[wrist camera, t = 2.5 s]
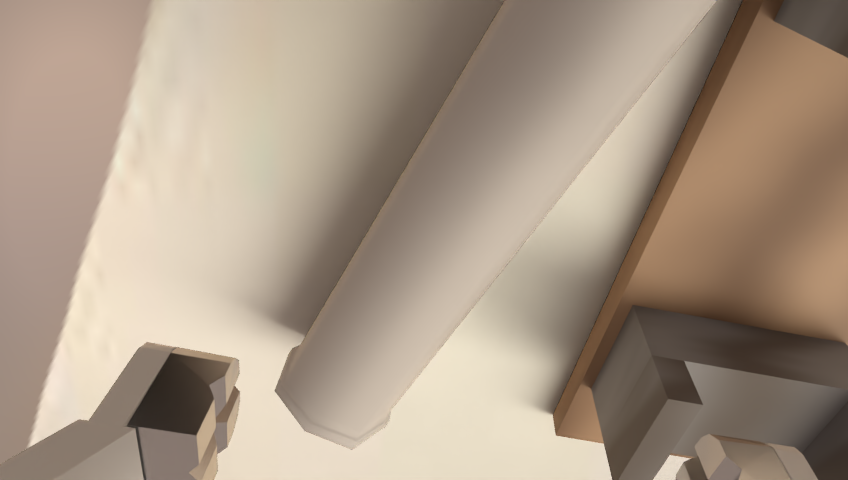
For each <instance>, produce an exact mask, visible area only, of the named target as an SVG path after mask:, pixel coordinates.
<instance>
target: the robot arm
mask: <svg viewBox="0 0 848 480" xmlns="http://www.w3.org/2000/svg"><path fill="white" fill-rule="evenodd" d="M239 374H240V373H239V360H238V359H236V358H232V357H227V356H222V355H216V354H211V353H206V352H200V351H195V350H190V349H184V348H179V347H171V346H166V345H160V344H155V343H149V342H147V343H145V344H144V345H143V346H141V347H140V348H139V349H138V350H137V351H136V353H135V354H134V356H133V357H132V358H131V360H130V361H129V363H128V364H127V366H126V367H125V369H124V370H123V371H122V373H121V374H120V376H119V377H118V379H117V380H116V382H115V383H114V385H113V386H112V387H111V389H110V390H109V392H108V393H107V395H106V396H105V398H104V399H103V401H102V402H101V403H100V405H99V406H98V408H97V409H96V411H95V412H94V414H93V415H92V417H91V418H90V419H89V421H88V420H80V419H79V420H77V421H75V422H74V423H72V424H70V425H68V426H66V427H65V428H63V429H61V430H59V431H58V432H56V433H54V434H52V435H51V436H49V437H47V438H45V439H44V440H42V441H40V442H38V443H36V444H35V445H33V446H31V447H29V448H28V449H26V450H24V451H22V452H21V453H19V454H17V455H15V456H14V457H12V458H10V459H8V460H7V461H5V462H3V463H1V464H0V480H214V479H215V476H216V474H217V471H218V463H217V454H218V453H220V452H221V451H222V450H224V449H225V448H227V447H228V444H229V442H230V439H231V437H232V434H233V431H234V428H235V424H236V420H237V416H238V411H239V403H240V392H239V390H238V389H237V388H236V387H235V386H234V385H235V383H236V381H237V378H238V376H239ZM695 450H696V453H697V456H696V457H694V458H692V459H690V460H687V461H685V462H684V463H683V464H682V466H681V467H680V469H679V471H678V472H677V474H676V480H818V479H817V477H816V475H815V474H814V472H813V470H812V469H811V467H810V465H809V464H808V462H807V460H806V459H805V457H804V455H803V454H802V453H801V452H800V451H798V450H797V449H796V448H795V447H790V446H784V445H777V444H771V443H762V442H760V441H753V440H747V439H740V438H733V437H727V436H720V435H713V434H707V435H705V436H703V437H701V438H700V440H699V441H698V442H697V444H696V445H695Z"/></svg>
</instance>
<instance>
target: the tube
mask: <svg viewBox="0 0 848 480" xmlns="http://www.w3.org/2000/svg"><path fill="white" fill-rule="evenodd" d="M716 1H717V0H505V1H504V2H503V4H502V6H501V7H500V9H499V11H498V12H497V14H496V16H495V18H494V19H493V21H492V23H491V24H490V26H489V28H488V29H487V31H486V33H485V34H484V36H483V38H482V39H481V41H480V43H479V45H478V46H477V48H476V50H475V51H474V53H473V55H472V56H471V58H470V60H469V61H468V63H467V65H466V66H465V68H464V70H463V71H462V73H461V75H460V77H459V78H458V80H457V82H456V83H455V85H454V87H453V88H452V90H451V92H450V93H449V95H448V97H447V98H446V100H445V102H444V104H443V105H442V107H441V109H440V110H439V112H438V114H437V115H436V117H435V119H434V120H433V122H432V124H431V125H430V127H429V129H428V131H427V132H426V134H425V136H424V137H423V139H422V141H421V142H420V144H419V146H418V147H417V149H416V151H415V152H414V154H413V156H412V158H411V159H410V161H409V163H408V164H407V166H406V168H405V169H404V171H403V173H402V174H401V176H400V178H399V179H398V181H397V183H396V185H395V186H394V188H393V190H392V191H391V193H390V195H389V196H388V198H387V200H386V201H385V203H384V205H383V206H382V208H381V210H380V212H379V213H378V215H377V217H376V218H375V220H374V222H373V223H372V225H371V227H370V228H369V230H368V232H367V233H366V235H365V237H364V239H363V240H362V242H361V244H360V245H359V247H358V249H357V250H356V252H355V254H354V255H353V257H352V259H351V260H350V262H349V264H348V266H347V267H346V269H345V271H344V272H343V274H342V276H341V277H340V279H339V281H338V282H337V284H336V286H335V287H334V289H333V291H332V293H331V294H330V296H329V298H328V299H327V301H326V303H325V304H324V306H323V308H322V309H321V311H320V313H319V314H318V316H317V318H316V320H315V321H314V323H313V325H312V326H311V328H310V330H309V331H308V333H307V335H306V336H305V338H304V340H303V341H302V343H301V345H299V346H297V347H294V348H292V350H291V351H290V353H289V355H288V357H287V360H286V362H285V365H284V368H283V370H282V373H281V376H280V378H279V381H278V384H277V386H276V389H275V392H276V393H277V394H278V396H279V397H280V398H281V400H282V401H283V403H284V404H285V405H286V407H287V408H288V409H289V411H290V412H291V413H292V415H293V416H294V417H295V419H296V420H297V421H298V423H299V424H300V425H301V427H302V428H303V429H304V431H306V432H309V433H311V434H314V435H316V436H319V437H321V438H324V439H326V440H329V441H331V442H334V443H336V444H339V445H341V446H344V447H346V448H349V449H351V450H352V449H354V448H355V447H357V446H358V445H360V444H361V443H362V442H364V441H365V440H367V439H368V438H370V437H371V436H373V435H374V434H376V433H377V432H379V431H380V430H381V429H383V428H384V427H385V426H386V425H387V424H388V422H389V419H390V412H391V410H392V409H393V407H394V406H395V405H396V404H397V402H398V401H399V400H400V398H401V397H402V396H403V395H404V393H405V392H406V391H407V390H408V388H409V387H410V386H411V385H412V383H413V382H414V381H415V380H416V378H417V377H418V376H419V375H420V373H421V372H422V371H423V370H424V368H425V367H426V366H427V365H428V363H429V362H430V361H431V360H432V358H433V357H434V356H435V354H436V353H437V352H438V351H439V349H440V348H441V347H442V346H443V344H444V343H445V342H446V341H447V339H448V338H449V337H450V336H451V334H452V333H453V332H454V331H455V329H456V328H457V327H458V326H459V324H460V323H461V322H462V321H463V319H464V318H465V317H466V316H467V314H468V313H469V312H470V310H471V309H472V308H473V307H474V305H475V304H476V303H477V302H478V300H479V299H480V298H481V297H482V295H483V294H484V293H485V292H486V290H487V289H488V288H489V287H490V285H491V284H492V283H493V282H494V280H495V279H496V278H497V277H498V275H499V274H500V273H501V272H502V270H503V269H504V268H505V266H506V265H507V264H508V263H509V261H510V260H511V259H512V258H513V256H514V255H515V254H516V253H517V251H518V250H519V249H520V248H521V246H522V245H523V244H524V243H525V241H526V240H527V239H528V238H529V236H530V235H531V234H532V233H533V231H534V230H535V229H536V227H537V226H538V225H539V224H540V222H541V221H542V220H543V219H544V217H545V216H546V215H547V214H548V212H549V211H550V210H551V209H552V207H553V206H554V205H555V204H556V202H557V201H558V200H559V199H560V197H561V196H562V195H563V194H564V192H565V191H566V190H567V189H568V187H569V186H570V185H571V183H572V182H573V181H574V180H575V178H576V177H577V176H578V175H579V173H580V172H581V171H582V170H583V168H584V167H585V166H586V165H587V163H588V162H589V161H590V160H591V158H592V157H593V156H594V155H595V153H596V152H597V151H598V150H599V148H600V147H601V146H602V145H603V143H604V142H605V141H606V139H607V138H608V137H609V136H610V134H611V133H612V132H613V131H614V129H615V128H616V127H617V126H618V124H619V123H620V122H621V121H622V119H623V118H624V117H625V116H626V114H627V113H628V112H629V111H630V109H631V108H632V107H633V106H634V104H635V103H636V102H637V101H638V99H639V98H640V97H641V95H642V94H643V93H644V92H645V90H646V89H647V88H648V87H649V85H650V84H651V83H652V82H653V80H654V79H655V78H656V77H657V75H658V74H659V73H660V72H661V70H662V69H663V68H664V67H665V65H666V64H667V63H668V62H669V60H670V59H671V58H672V56H673V55H674V54H675V53H676V51H677V50H678V49H679V48H680V46H681V45H682V44H683V43H684V41H685V40H686V39H687V38H688V36H689V35H690V34H691V33H692V31H693V30H694V29H695V28H696V26H697V25H698V24H699V23H700V21H701V20H702V19H703V18H704V16H705V15H706V14H707V12H708V11H709V10H710V9H711V7H712V6H713V5H714V4H715V2H716Z"/></svg>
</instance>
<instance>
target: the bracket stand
mask: <svg viewBox="0 0 848 480" xmlns="http://www.w3.org/2000/svg"><path fill="white" fill-rule="evenodd" d="M553 419H554V426H555V432H556V435H557V436H562V437H568V438H574V439H580V440H586V441H592V442H598V443H604V446H605V450H606V454H607V458H608V463H609V467H610V471H611V476H612V480H653V479H654V477H655V476H656V474H657V473H658V471H659V470H660V468H661V467H662V465H663V464H664V462H665V461H666V459H667V458H668V457H669V455H674V456H680V457H686V458H694V457H696V456H697V453H696V450H695V445H696V444H697V442H698V441H699V440H700V438H701V437H703V436H705V435H707V434H713V435H720V436H727V437H733V438H740V439H747V440H753V441H760V442H762V443H771V444H777V445H784V446H790V447H795V448H796V449H797V450H798V451H800V452H801V453H802V454H803V455H804V457H805V459H806V460H807V462H808V464H809V465H810V467H811V469H812V470H813V472H814V474H815V475H816V477H817V479H818V480H848V0H743V2H742V4H741V6H740V8H739V10H738V13H737V15H736V17H735V19H734V21H733V24H732V26H731V28H730V30H729V32H728V34H727V37H726V39H725V41H724V43H723V45H722V48H721V50H720V52H719V54H718V56H717V58H716V61H715V63H714V65H713V67H712V69H711V72H710V74H709V76H708V78H707V80H706V82H705V85H704V87H703V89H702V91H701V93H700V95H699V98H698V100H697V102H696V104H695V106H694V109H693V111H692V113H691V115H690V117H689V119H688V122H687V124H686V126H685V128H684V130H683V133H682V135H681V137H680V139H679V141H678V143H677V146H676V148H675V150H674V152H673V154H672V157H671V159H670V161H669V163H668V165H667V167H666V170H665V172H664V174H663V176H662V178H661V181H660V183H659V185H658V187H657V189H656V191H655V194H654V196H653V198H652V200H651V202H650V205H649V207H648V209H647V211H646V213H645V215H644V218H643V220H642V222H641V224H640V226H639V229H638V231H637V233H636V235H635V237H634V239H633V242H632V244H631V246H630V248H629V250H628V253H627V255H626V257H625V259H624V261H623V263H622V266H621V268H620V270H619V272H618V274H617V277H616V279H615V281H614V283H613V285H612V287H611V290H610V292H609V294H608V296H607V298H606V301H605V303H604V305H603V307H602V309H601V311H600V314H599V316H598V318H597V320H596V322H595V325H594V327H593V329H592V331H591V333H590V335H589V338H588V340H587V342H586V344H585V346H584V349H583V351H582V353H581V355H580V357H579V359H578V362H577V364H576V366H575V368H574V370H573V373H572V375H571V377H570V379H569V381H568V383H567V386H566V388H565V390H564V392H563V394H562V397H561V399H560V401H559V403H558V405H557V407H556V410H555V412H554V414H553Z"/></svg>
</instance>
